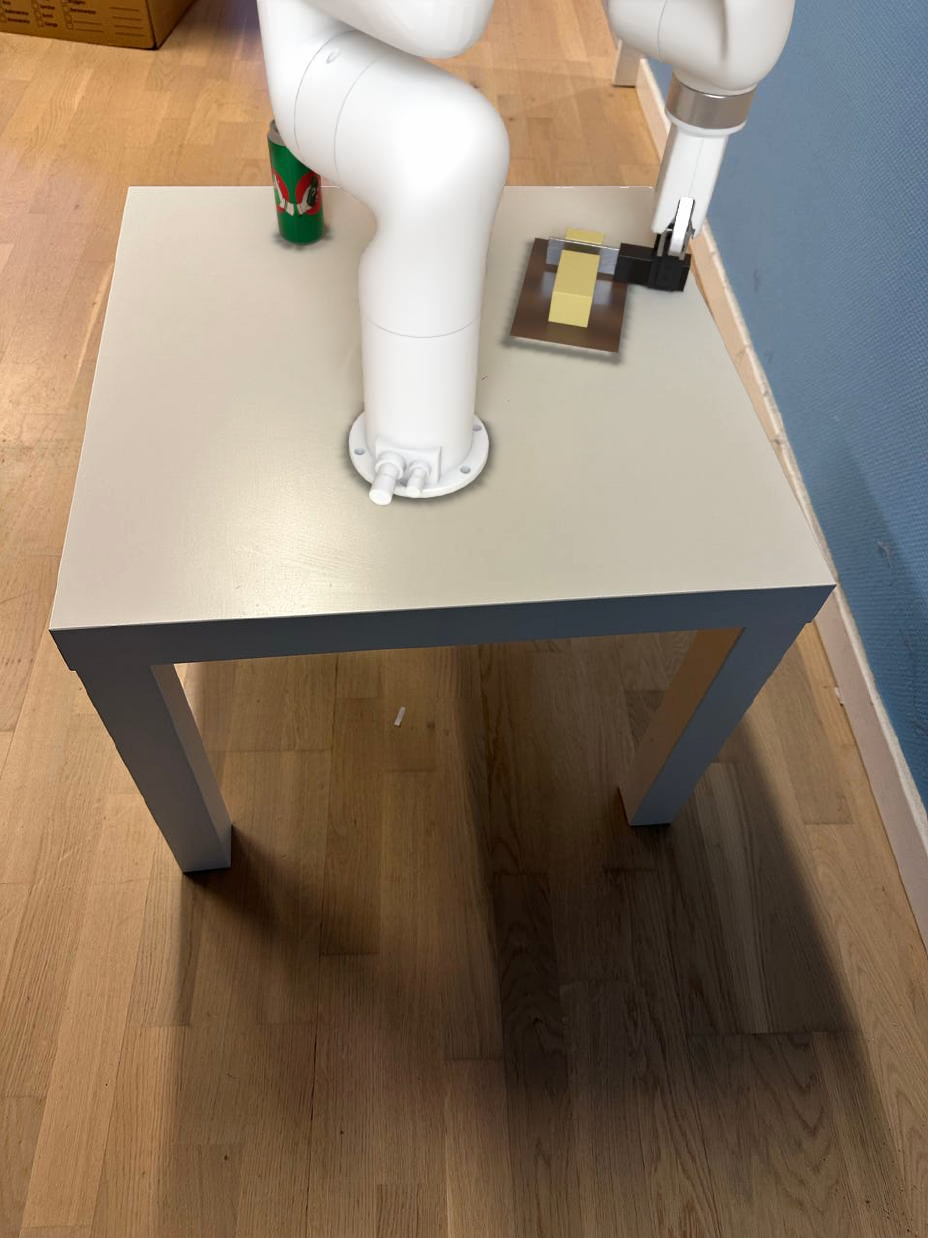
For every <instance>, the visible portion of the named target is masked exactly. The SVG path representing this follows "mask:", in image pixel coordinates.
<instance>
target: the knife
mask: <svg viewBox="0 0 928 1238" xmlns="http://www.w3.org/2000/svg"><path fill="white" fill-rule="evenodd" d="M548 240H549V242H548V249H547V256H546V264H551V265H557V266H559V261H560V257H561V252H562V250H567V251H574V252H580V253H587V254H593V255H600V260H599V265H598V271H597V272H600V273H606V274H612V275H614V279H613V280H614V281H620V282H626V283H628V284H633V285H639V286H644V287H647V280H648V276H649V272H650V268H651V264H652V260H653V256H654V252H655V250H657V251H658V248H654V247H650V246H646V245H639V244H633V243H626V242H620V244H619V247H618V246H612V245H606V244H602V245H600V244H594V243H588V242H582V241H575V240H569V239H565V238H563V237H556V236H552V235H551V236H549V237H548ZM685 255H686V259H685V262H684V266H683V270H682V273H681V277H680V280H679V284H678V287H677V290H676V291H675V292H684V291H685V287H686V283H687V280H688V277H689V273H690V271H691V265H692V253H689V252H686V253H685Z"/></svg>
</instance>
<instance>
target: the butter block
mask: <svg viewBox="0 0 928 1238" xmlns="http://www.w3.org/2000/svg"><path fill="white" fill-rule="evenodd" d="M599 260H600V255H593V254H587V253H580V252H574V251H567V250H562V252H561V257H560V261H559V266H558V270H557V275H556V279H555V283H554V288H553V293H552V299H551V306H550V313H549V319H548V321H550V322H557V323H563V324H569V325H575V326H581V327H587V324H588V319H589V314H590V309H591V304H592V299H593V293H594V287H595V282H596V276H597V271H598V265H599Z"/></svg>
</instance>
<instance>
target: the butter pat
mask: <svg viewBox="0 0 928 1238" xmlns="http://www.w3.org/2000/svg"><path fill="white" fill-rule="evenodd" d="M604 238H605V233H604V232H597V231H591V230H585V229H577V228H573V227H567V228H566V231H565V235H564V239H569V240H575V241H582V242H588V243H594V244H600V245H603V242H604Z"/></svg>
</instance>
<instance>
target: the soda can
mask: <svg viewBox="0 0 928 1238" xmlns="http://www.w3.org/2000/svg"><path fill="white" fill-rule="evenodd" d="M268 126H269V130H268V132H267V134H266V139H267V140H266V141H267V148H268V155H269V163H270V169H271V179H272V187H273V194H274V203H275V211H276V217H277V226H278V233H279V235H280V236H281V238H283V239H284V241H286V242H288V243H289V244H292V245H295V246H309V245H312V244H315V243H317V242H318V241H320V240H321V239H322V237H323V236H324V235H325V233H326V227H325V226H326V224H325V213H324V202H323V191H322V190H323V189H322V176H320V175H319V174H317V173H315V172H314V171H313V170H311V169H310V168H308V167H307V166H306V165H304V164H303V163H302V162H300V161H299V160H298V159H297V158H296V157H295V156H294V155H293V154H292V153H291V152H290V150H289V149H288V148H287V146H286V145H285V143H284V141H283V140H282V138H281V136H280V133H279V131H278V129H277V126H276V123H275V120H274V118H273V119H272V120H271V121H270V122H269V125H268Z"/></svg>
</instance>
